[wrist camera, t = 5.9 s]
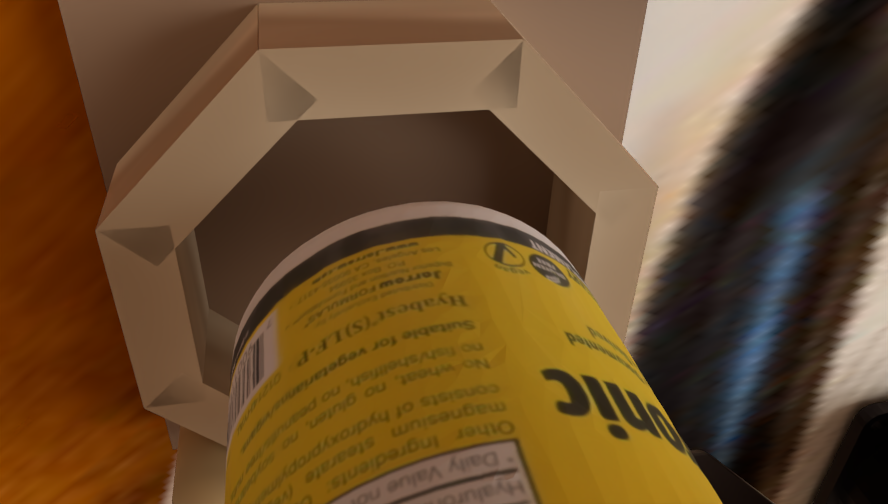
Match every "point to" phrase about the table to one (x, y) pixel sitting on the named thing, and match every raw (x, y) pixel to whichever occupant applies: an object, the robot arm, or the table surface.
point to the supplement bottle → (442, 375)
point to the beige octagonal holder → (337, 156)
